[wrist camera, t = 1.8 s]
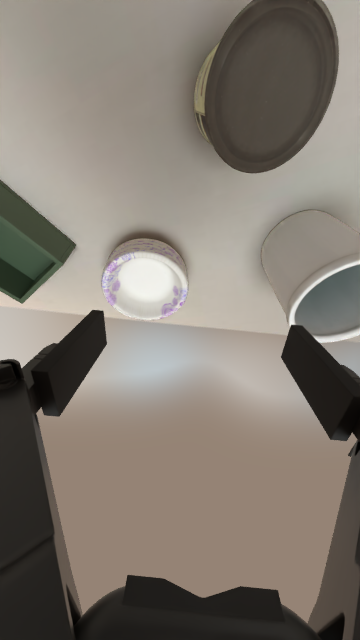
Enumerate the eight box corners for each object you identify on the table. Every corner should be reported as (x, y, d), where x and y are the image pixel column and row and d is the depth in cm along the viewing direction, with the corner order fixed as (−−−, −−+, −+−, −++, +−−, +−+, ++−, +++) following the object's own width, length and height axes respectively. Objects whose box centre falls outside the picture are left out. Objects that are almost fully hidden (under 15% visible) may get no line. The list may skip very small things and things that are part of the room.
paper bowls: (179, 301, 51) (180, 325, 45) (111, 292, 49) (103, 317, 43) (194, 237, 40) (197, 259, 35) (108, 222, 38) (96, 244, 32)
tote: (-45, 227, 38) (-76, 246, 33) (-11, 170, 33) (-43, 183, 28) (37, 282, 46) (22, 303, 42) (76, 245, 41) (63, 264, 36)
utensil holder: (240, 260, 44) (266, 323, 31) (303, 186, 35) (375, 233, 22) (291, 289, 49) (330, 353, 37) (357, 232, 40) (439, 291, 28)
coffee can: (271, 142, 31) (317, 162, 21) (197, 156, 32) (208, 182, 22) (284, 21, 24) (365, -36, 14) (188, 44, 25) (199, 6, 15)
